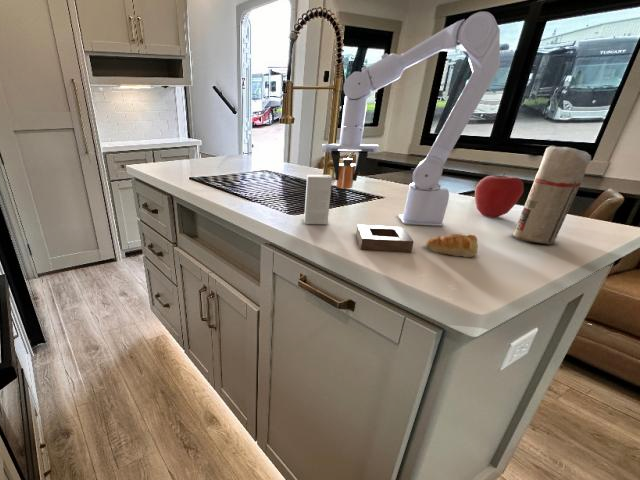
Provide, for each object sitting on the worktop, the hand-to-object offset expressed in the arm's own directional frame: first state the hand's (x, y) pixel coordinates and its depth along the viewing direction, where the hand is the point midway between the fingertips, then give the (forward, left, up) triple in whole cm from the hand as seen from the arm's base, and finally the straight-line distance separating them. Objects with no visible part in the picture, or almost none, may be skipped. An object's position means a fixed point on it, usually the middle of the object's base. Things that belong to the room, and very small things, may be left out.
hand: (345, 180), depth 101 cm
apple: (-41, -4, -9) cm, 43 cm away
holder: (-7, +26, -9) cm, 29 cm away
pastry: (-21, +29, -9) cm, 38 cm away
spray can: (-42, +17, -9) cm, 47 cm away
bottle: (0, 0, -2) cm, 2 cm away
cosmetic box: (+8, +12, -9) cm, 17 cm away
